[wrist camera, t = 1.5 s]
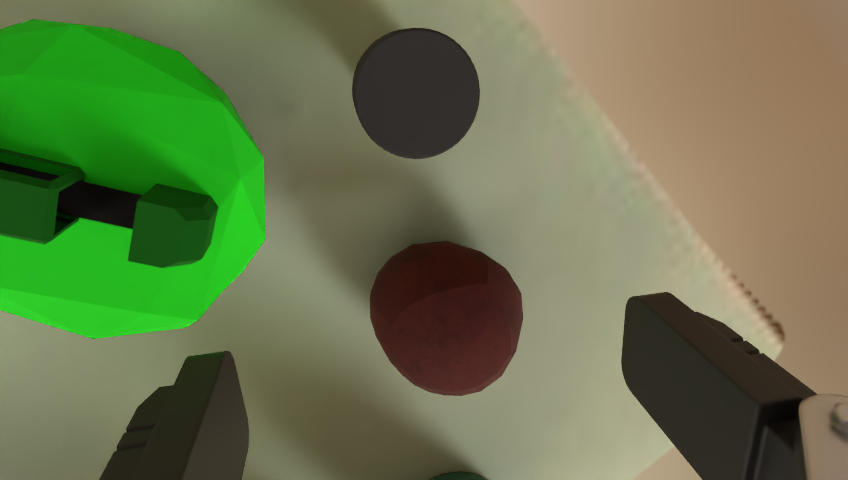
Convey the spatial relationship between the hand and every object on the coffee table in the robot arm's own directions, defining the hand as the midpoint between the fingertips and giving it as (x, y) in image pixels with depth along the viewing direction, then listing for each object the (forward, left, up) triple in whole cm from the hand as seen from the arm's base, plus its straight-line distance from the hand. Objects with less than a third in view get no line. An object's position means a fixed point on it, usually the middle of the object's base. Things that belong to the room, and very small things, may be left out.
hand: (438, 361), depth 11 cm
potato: (+3, -7, -17) cm, 18 cm away
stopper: (+2, +4, -17) cm, 17 cm away
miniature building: (-10, +1, -17) cm, 20 cm away
